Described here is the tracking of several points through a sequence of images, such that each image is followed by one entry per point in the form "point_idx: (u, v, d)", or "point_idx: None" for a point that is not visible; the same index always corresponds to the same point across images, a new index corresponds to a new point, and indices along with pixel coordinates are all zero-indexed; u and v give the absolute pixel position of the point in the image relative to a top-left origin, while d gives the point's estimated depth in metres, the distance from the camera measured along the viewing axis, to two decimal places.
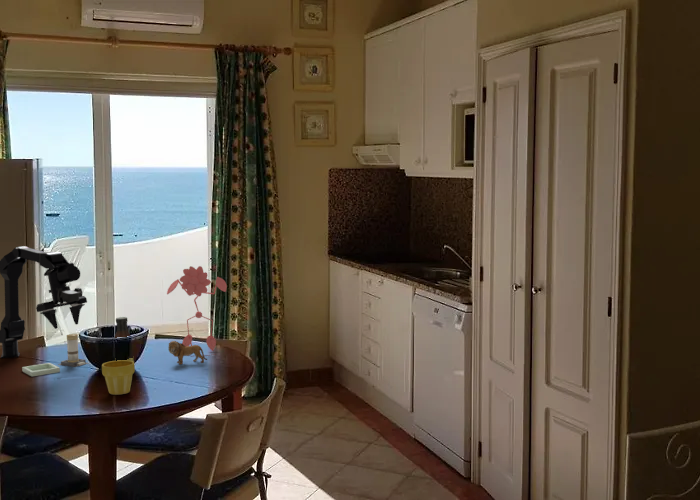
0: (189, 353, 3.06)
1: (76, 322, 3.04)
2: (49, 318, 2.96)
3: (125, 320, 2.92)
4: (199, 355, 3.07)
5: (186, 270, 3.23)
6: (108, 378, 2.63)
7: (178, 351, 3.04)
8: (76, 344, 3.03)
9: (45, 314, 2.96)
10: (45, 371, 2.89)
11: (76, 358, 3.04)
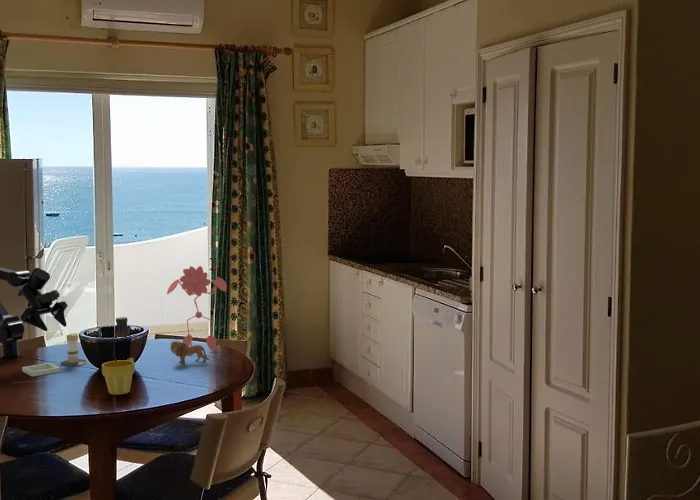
0: (191, 353, 3.07)
1: (64, 324, 3.11)
2: (37, 324, 3.03)
3: (125, 320, 2.92)
4: (201, 355, 3.07)
5: (186, 270, 3.23)
6: (108, 378, 2.63)
7: (180, 351, 3.05)
8: (76, 344, 3.03)
9: (31, 322, 3.04)
10: (45, 371, 2.89)
11: (76, 358, 3.04)
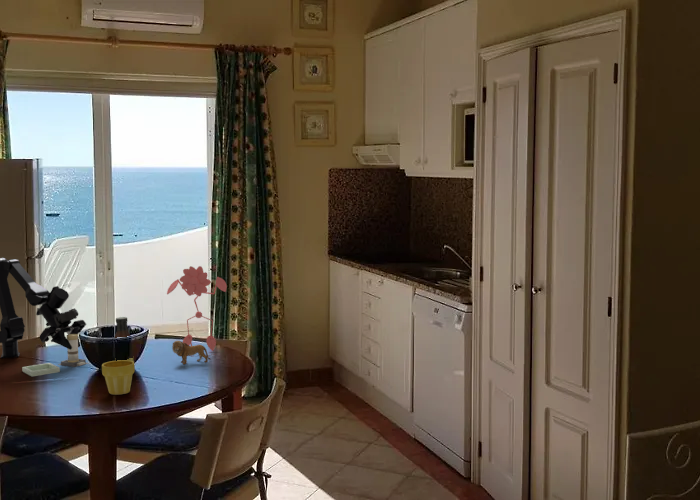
0: (193, 353, 3.07)
1: (78, 344, 3.05)
2: (61, 342, 3.02)
3: (125, 320, 2.92)
4: (203, 355, 3.07)
5: (186, 270, 3.23)
6: (108, 378, 2.63)
7: (182, 351, 3.05)
8: (76, 344, 3.03)
9: (56, 340, 3.02)
10: (45, 371, 2.89)
11: (76, 358, 3.04)
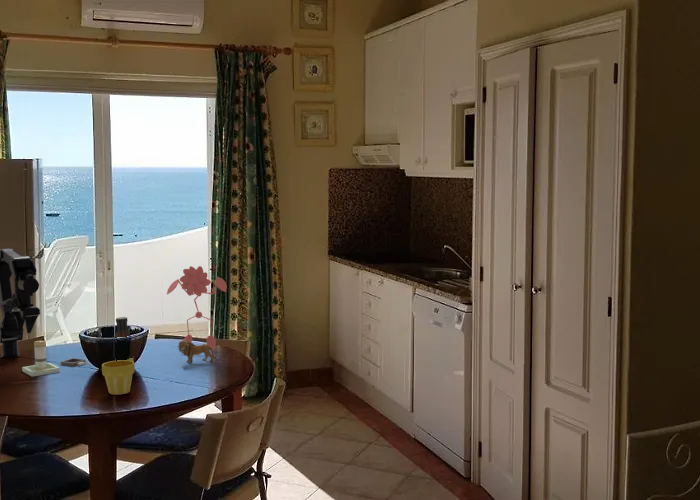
0: (199, 352, 3.08)
1: None
2: None
3: (125, 320, 2.92)
4: (209, 354, 3.08)
5: (186, 270, 3.23)
6: (108, 378, 2.63)
7: (188, 350, 3.06)
8: (42, 351, 2.91)
9: None
10: (45, 371, 2.89)
11: (42, 366, 2.92)
